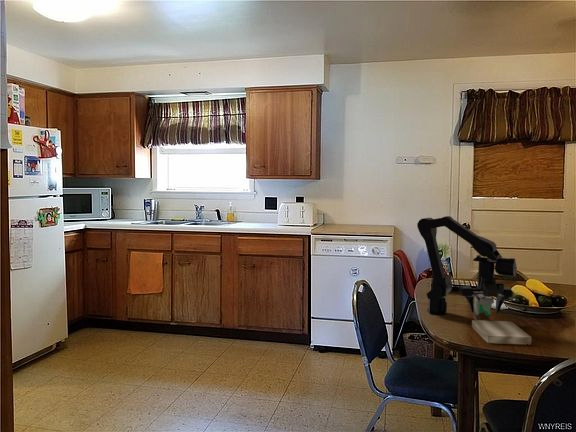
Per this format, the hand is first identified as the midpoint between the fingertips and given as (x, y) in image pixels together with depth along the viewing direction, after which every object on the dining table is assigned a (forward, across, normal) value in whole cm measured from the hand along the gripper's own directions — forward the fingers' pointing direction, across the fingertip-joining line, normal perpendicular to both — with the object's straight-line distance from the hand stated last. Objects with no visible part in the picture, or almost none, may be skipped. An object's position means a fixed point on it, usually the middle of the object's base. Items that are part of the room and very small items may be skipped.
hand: (484, 313), depth 184 cm
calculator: (+4, +14, +25) cm, 29 cm away
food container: (+3, 0, 0) cm, 3 cm away
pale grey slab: (+4, 0, -17) cm, 17 cm away
